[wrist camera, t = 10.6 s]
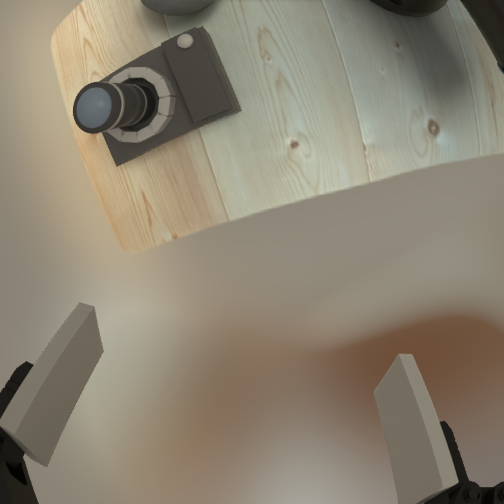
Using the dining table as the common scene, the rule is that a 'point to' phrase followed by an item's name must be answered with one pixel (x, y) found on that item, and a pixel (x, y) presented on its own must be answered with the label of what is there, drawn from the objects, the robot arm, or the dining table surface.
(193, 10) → the decorative stone
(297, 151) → the dining table surface
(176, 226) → the dining table surface
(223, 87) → the camera body
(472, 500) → the robot arm
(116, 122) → the lens
